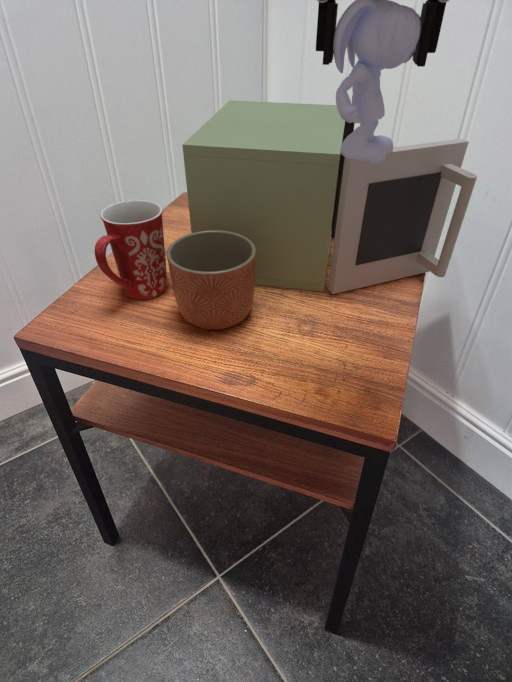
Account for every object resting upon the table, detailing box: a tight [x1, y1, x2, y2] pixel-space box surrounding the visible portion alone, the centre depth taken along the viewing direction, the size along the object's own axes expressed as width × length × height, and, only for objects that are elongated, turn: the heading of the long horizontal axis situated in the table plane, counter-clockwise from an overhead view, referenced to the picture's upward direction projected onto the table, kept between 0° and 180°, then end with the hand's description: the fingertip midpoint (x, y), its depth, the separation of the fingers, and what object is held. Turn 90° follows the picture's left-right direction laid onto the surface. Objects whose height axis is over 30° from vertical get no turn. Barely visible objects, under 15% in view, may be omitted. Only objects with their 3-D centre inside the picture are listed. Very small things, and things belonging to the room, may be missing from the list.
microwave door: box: [327, 138, 478, 295], centre depth 66 cm, size 7×20×22 cm, turn 112°
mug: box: [94, 199, 168, 300], centre depth 68 cm, size 13×9×14 cm
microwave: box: [182, 100, 356, 293], centre depth 77 cm, size 24×28×22 cm
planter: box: [166, 230, 256, 330], centre depth 64 cm, size 12×12×11 cm
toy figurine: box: [333, 0, 422, 164], centre depth 37 cm, size 7×6×12 cm
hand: (372, 61), depth 36 cm, fingers closed on toy figurine, 6 cm apart
